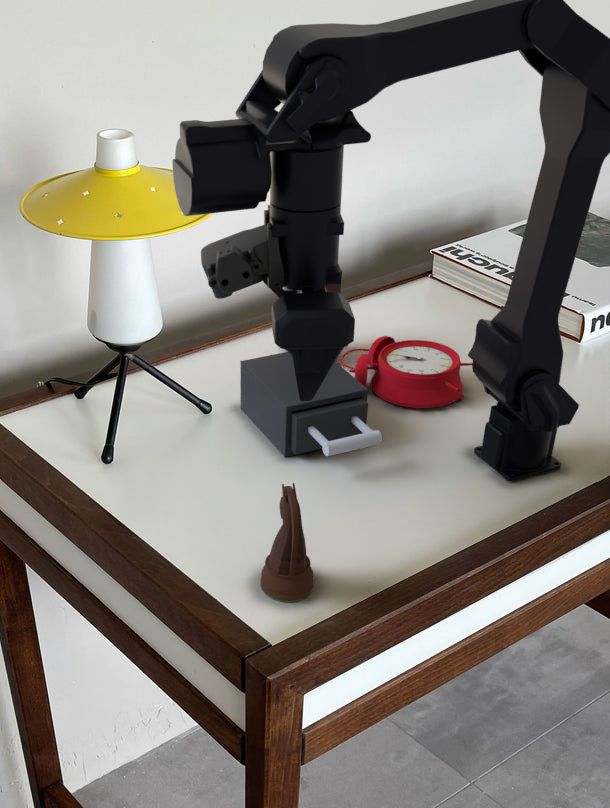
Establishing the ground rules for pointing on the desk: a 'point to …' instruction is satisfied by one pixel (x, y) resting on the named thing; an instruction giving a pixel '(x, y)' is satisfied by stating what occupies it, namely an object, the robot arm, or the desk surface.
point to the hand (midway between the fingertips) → (300, 375)
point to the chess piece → (288, 555)
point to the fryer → (287, 395)
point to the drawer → (333, 428)
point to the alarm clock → (411, 372)
